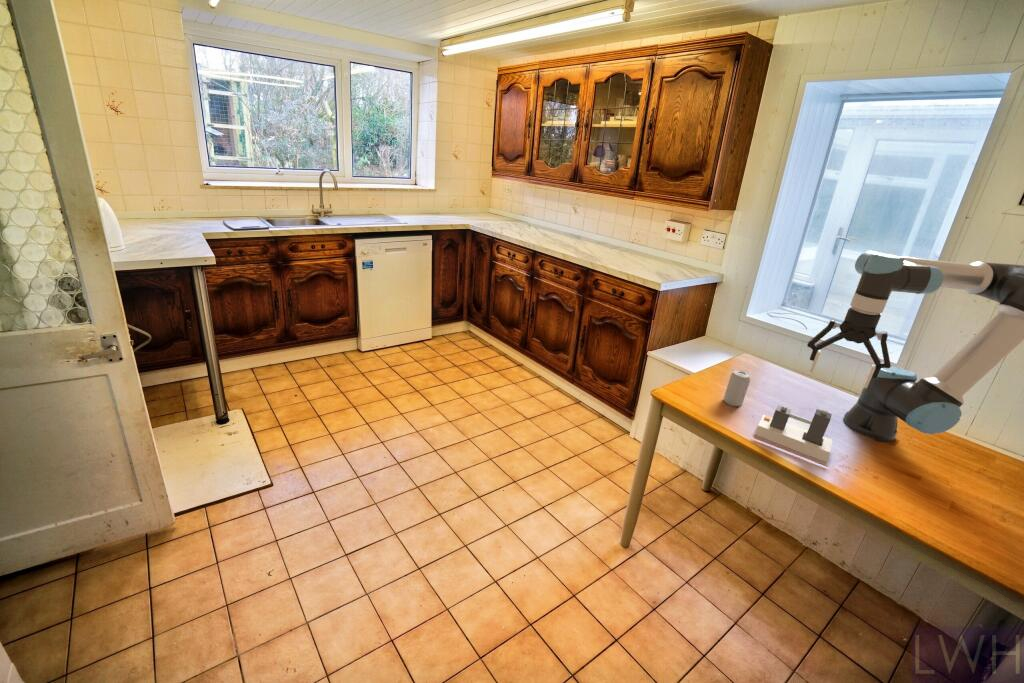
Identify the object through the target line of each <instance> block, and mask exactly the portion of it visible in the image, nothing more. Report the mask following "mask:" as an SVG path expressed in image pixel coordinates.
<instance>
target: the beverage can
mask: <svg viewBox="0 0 1024 683" xmlns="http://www.w3.org/2000/svg"><path fill="white" fill-rule="evenodd" d="M727 383H728V384H727V386H726V389H725V393H724V395H723V401H724V402H725V404H726V405H729V406H732V407H735V408H736V407H741V406H742V405H743V403H744V400H745V397H746V395H747V391H748V388H749V385H750V383H751V374H750V373H749V372H746V371H743V370H740V369H736V370H735V369H734V370H733V371H732V373H731V374H730V377H729V379H728V382H727Z"/></svg>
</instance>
